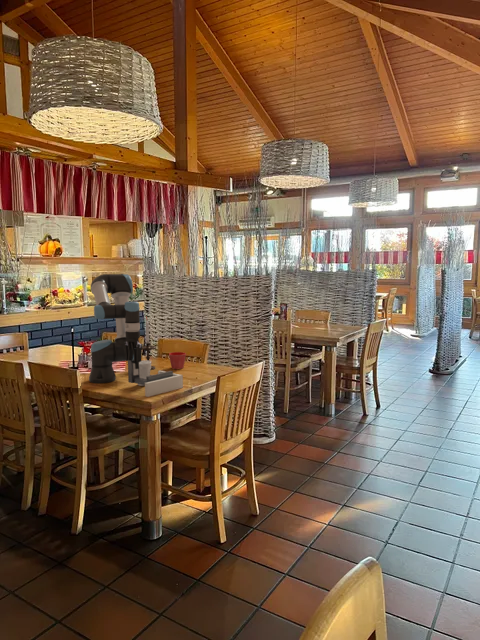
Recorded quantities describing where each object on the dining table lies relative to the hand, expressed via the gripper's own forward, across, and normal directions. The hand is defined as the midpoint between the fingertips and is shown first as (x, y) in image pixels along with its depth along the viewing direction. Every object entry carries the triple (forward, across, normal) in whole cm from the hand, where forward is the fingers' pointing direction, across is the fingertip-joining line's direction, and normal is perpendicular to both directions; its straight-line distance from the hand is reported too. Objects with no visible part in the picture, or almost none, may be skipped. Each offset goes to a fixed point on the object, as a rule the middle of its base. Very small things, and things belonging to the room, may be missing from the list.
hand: (133, 374), depth 254 cm
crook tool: (+4, +4, +8) cm, 10 cm away
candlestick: (+9, -39, +41) cm, 57 cm away
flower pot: (+9, -26, +55) cm, 62 cm away
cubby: (+9, +5, +9) cm, 14 cm away
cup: (+9, -7, +12) cm, 16 cm away
